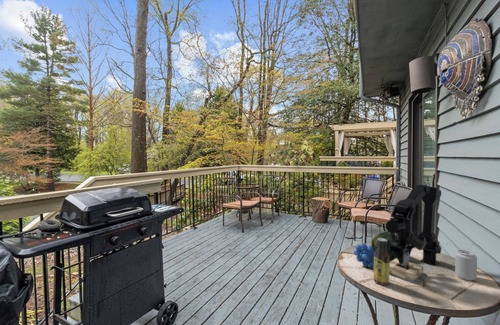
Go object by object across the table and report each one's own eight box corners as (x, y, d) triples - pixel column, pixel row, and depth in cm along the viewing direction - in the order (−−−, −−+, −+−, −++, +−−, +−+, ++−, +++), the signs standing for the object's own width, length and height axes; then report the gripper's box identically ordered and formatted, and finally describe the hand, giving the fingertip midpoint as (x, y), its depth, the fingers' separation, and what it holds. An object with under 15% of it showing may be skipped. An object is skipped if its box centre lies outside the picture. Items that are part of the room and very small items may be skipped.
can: (471, 274, 117) (472, 249, 116) (480, 282, 110) (480, 256, 109) (452, 272, 119) (452, 248, 119) (459, 280, 112) (459, 254, 112)
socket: (392, 264, 128) (392, 257, 128) (426, 276, 116) (426, 267, 116) (381, 272, 121) (381, 264, 121) (416, 284, 109) (416, 275, 109)
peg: (401, 268, 121) (401, 249, 121) (410, 272, 118) (410, 251, 118) (397, 271, 119) (397, 251, 118) (406, 274, 116) (406, 254, 115)
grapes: (352, 267, 127) (352, 244, 126) (354, 262, 132) (354, 239, 132) (378, 272, 120) (378, 248, 120) (379, 267, 126) (379, 243, 126)
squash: (365, 239, 150) (374, 226, 140) (391, 240, 150) (401, 227, 139) (373, 262, 140) (382, 250, 130) (400, 263, 139) (412, 251, 129)
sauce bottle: (370, 279, 114) (370, 236, 114) (383, 278, 115) (383, 236, 114) (379, 287, 108) (379, 242, 107) (392, 286, 108) (393, 241, 108)
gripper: (415, 238, 106) (415, 274, 106) (431, 229, 117) (431, 261, 118) (388, 232, 115) (388, 265, 115) (405, 224, 126) (405, 254, 126)
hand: (404, 261), depth 118 cm, fingers open, 6 cm apart
